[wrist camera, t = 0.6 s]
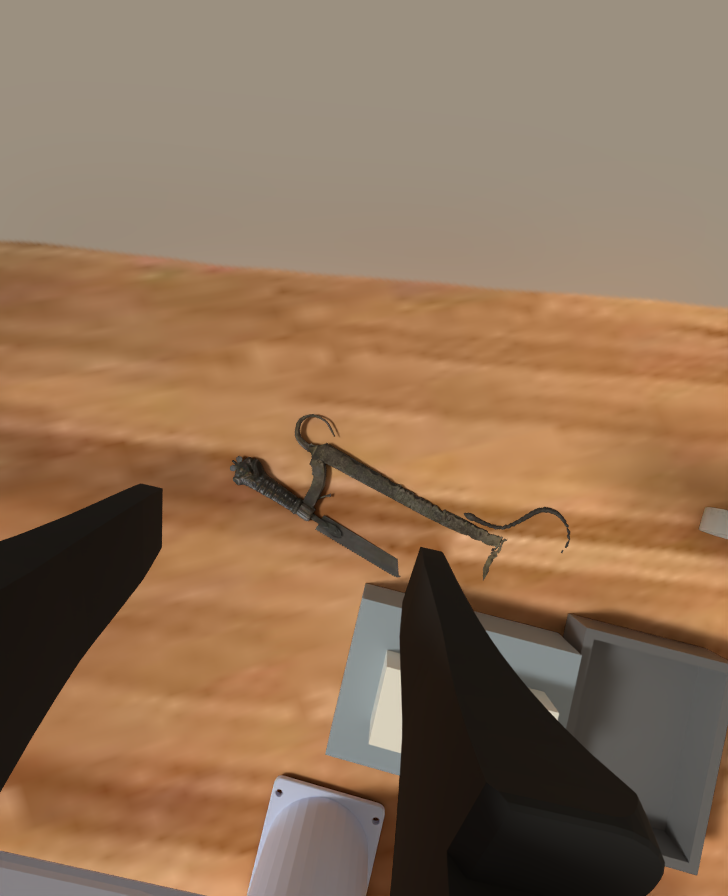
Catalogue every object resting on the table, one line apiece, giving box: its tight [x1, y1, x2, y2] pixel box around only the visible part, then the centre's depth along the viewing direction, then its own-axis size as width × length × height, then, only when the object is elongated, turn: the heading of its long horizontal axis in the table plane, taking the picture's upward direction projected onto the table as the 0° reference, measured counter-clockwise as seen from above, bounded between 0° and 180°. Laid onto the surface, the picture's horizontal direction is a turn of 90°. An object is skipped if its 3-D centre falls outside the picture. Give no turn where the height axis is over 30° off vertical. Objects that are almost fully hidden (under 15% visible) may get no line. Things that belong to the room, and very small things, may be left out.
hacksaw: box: [230, 414, 570, 580], centre depth 33 cm, size 24×10×2 cm, turn 59°
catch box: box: [563, 613, 728, 875], centre depth 30 cm, size 13×10×3 cm
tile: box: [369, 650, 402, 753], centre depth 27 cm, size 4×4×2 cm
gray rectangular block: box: [325, 583, 582, 776], centre depth 31 cm, size 10×14×4 cm
